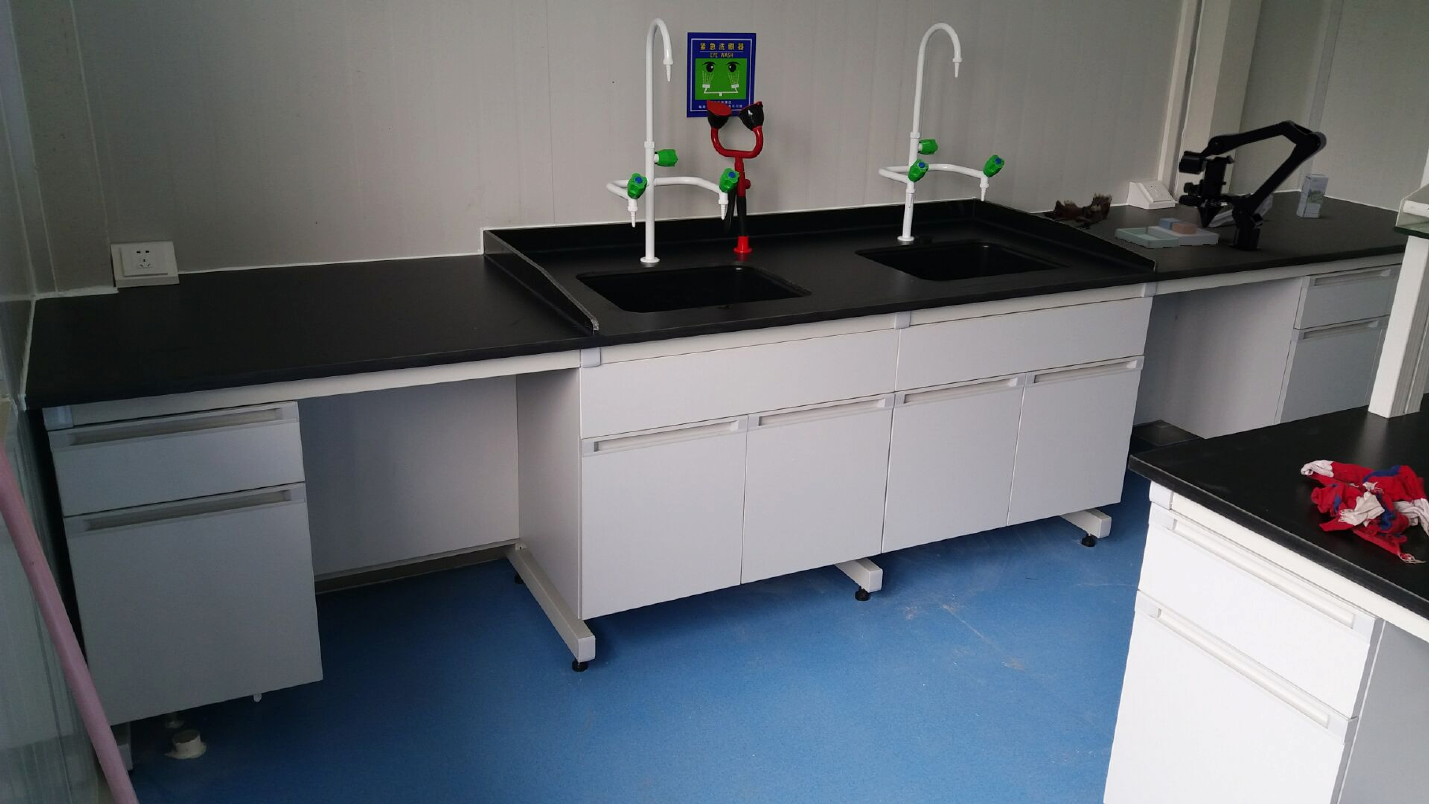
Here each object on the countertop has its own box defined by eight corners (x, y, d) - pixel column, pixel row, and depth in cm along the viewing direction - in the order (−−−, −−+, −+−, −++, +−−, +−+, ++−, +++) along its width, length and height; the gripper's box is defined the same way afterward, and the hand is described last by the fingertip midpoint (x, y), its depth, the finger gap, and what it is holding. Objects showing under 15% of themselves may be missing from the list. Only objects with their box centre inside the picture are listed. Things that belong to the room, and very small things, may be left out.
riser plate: (1217, 244, 333) (1219, 234, 332) (1176, 246, 329) (1178, 236, 328) (1186, 234, 345) (1187, 224, 344) (1146, 236, 341) (1148, 226, 340)
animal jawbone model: (1131, 232, 359) (1139, 204, 354) (1075, 243, 349) (1082, 214, 344) (1094, 212, 372) (1102, 184, 366) (1039, 222, 362) (1046, 194, 357)
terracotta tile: (1195, 233, 332) (1197, 225, 331) (1182, 234, 331) (1183, 226, 330) (1184, 230, 337) (1186, 222, 336) (1171, 230, 335) (1172, 222, 334)
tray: (1177, 247, 328) (1179, 238, 327) (1147, 248, 325) (1149, 240, 324) (1143, 235, 342) (1145, 227, 341) (1114, 236, 339) (1115, 229, 338)
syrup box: (1312, 215, 379) (1322, 173, 374) (1319, 218, 374) (1329, 176, 368) (1295, 214, 380) (1304, 172, 374) (1302, 218, 374) (1311, 175, 369)
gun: (1271, 217, 368) (1273, 195, 365) (1210, 240, 356) (1212, 217, 353) (1266, 216, 370) (1268, 194, 366) (1205, 239, 358) (1207, 216, 355)
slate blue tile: (1182, 229, 338) (1184, 221, 337) (1169, 230, 336) (1170, 222, 335) (1171, 225, 342) (1173, 218, 341) (1158, 226, 341) (1159, 218, 340)
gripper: (1220, 171, 340) (1210, 221, 345) (1170, 173, 334) (1161, 223, 340) (1246, 177, 330) (1236, 228, 335) (1195, 179, 324) (1186, 231, 330)
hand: (1204, 227), depth 335 cm, fingers closed
